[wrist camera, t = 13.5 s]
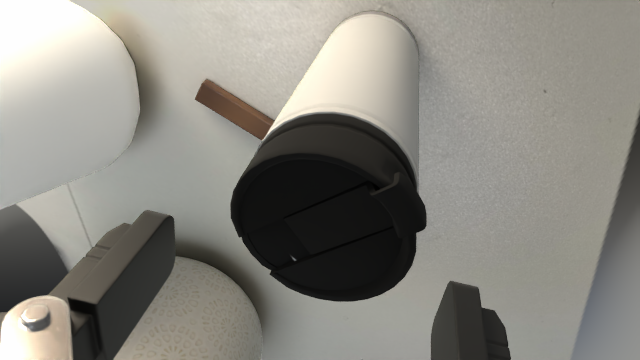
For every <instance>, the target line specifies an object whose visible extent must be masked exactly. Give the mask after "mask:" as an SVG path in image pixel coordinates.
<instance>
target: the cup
mask: <svg viewBox="0 0 640 360" xmlns="http://www.w3.org/2000/svg"><path fill="white" fill-rule="evenodd" d="M139 114H140V103H139V91H138V83H137V77H136V70H135V64H134V62H133V60H132V58H131V57H130V55H129V53H128V51H127V49H126V47H125V45H124V43H123V42H122V40H121V39H120V38H119V37H118V36H117V35H116V34H115V33H114V32H113V31H112V30H111V29H110V28H109V27H108V26H107V25H106V24H105V23H104V22H103V21H102V20H100V19H99V18H97V17H96V16H94V15H93V14H91V13H90V12H88V11H87V10H85V9H84V8H82V7H80V6H78V5H76V4H74V3H72V2H70V1H68V0H0V210H1V209H3V208H5V207H8V206H11V205H13V204H16V203H18V202H21V201H23V200H26V199H28V198H31V197H34V196H36V195H39V194H41V193H44V192H46V191H49V190H51V189H54V188H56V187H59V186H61V185H64V184H66V183H69V182H72V181H74V180H77V179H79V178H82V177H84V176H87V175H89V174H92V173H94V172H97V171H99V170H102V169H104V168H106V167H108V166H109V165H111V164H112V163H113V162H114V161H115V160H116V159H117V158H118V157H119V156H120V155H121V154H122V153H123V152H124V151H125V150H126V149H127V148H128V147H129V145H130V144H131V142H132V140H133V136H134V133H135V129H136V125H137V121H138V118H139Z"/></svg>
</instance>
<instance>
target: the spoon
mask: <svg viewBox="0 0 640 360" xmlns="http://www.w3.org/2000/svg"><path fill="white" fill-rule="evenodd" d="M195 100H197V101H198V102H200V103H202V104H203V105H205V106H207V107H208V108H210V109H212V110H213V111H215V112H216V113H218V114H220V115H221V116H223V117H225V118H226V119H228V120H230V121H231V122H233V123H234V124H236V125H238V126H239V127H241V128H243V129H244V130H246V131H247V132H249V133H251V134H252V135H254V136H256V137H257V138H259V139H261V140H263V139H264V137H265V136H266V135H267V133H268V131H269V130H270V128H271V126H272V125H273V123H274V122H275V121H273V120H272V119H270V118H268V117H267V116H265V115H264V114H262V113H260V112H259V111H257V110H256V109H254V108H252V107H251V106H249V105H248V104H246V103H244V102H243V101H241V100H239V99H238V98H236V97H235V96H233V95H231V94H230V93H228V92H227V91H225V90H223V89H222V88H220V87H219V86H217V85H215V84H214V83H212V82H210V81H209V80H207V79H206V80H205V81H204V82H203V83H202V85H201V87H200V89H199V91H198V93H197V95H196V98H195Z"/></svg>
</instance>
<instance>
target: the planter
mask: <svg viewBox="0 0 640 360" xmlns="http://www.w3.org/2000/svg"><path fill="white" fill-rule="evenodd" d="M261 354H262V330H261V324H260V321H259V317H258V315H257V312H256V310H255V308H254V306H253V304H252V302H251V301H250V299H249V298H248V296H247V295H246V294H245V292H244V291H243V290H242V289H241V288H240V287H239V286H238V285H237V284H236V283H235V282H234V281H233V280H232V279H231V278H229V277H228V276H227V275H225V274H224V273H222V272H221V271H219V270H218V269H216V268H214V267H212V266H210V265H208V264H205V263H203V262H200V261H197V260H193V259H189V258H185V257H177V256H176V257H175V263H174V267H173V270H172V272H171V274H170V276H169V278H168V279H167V280H166V282H165V283H164V285H163V286H162V288H161V289H160V291H159V292H158V294H157V295H156V297H155V298H154V300H153V301H152V303H151V304H150V306H149V307H148V309H147V310H146V312H145V313H144V315H143V316H142V318H141V319H140V321H139V322H138V324H137V325H136V326H135V328H134V329H133V331H132V332H131V334H130V335H129V337H128V338H127V340H126V341H125V343H124V344H123V346H122V347H121V349H120V350H119V352H118V353H117V355H116V356H115V358H114V359H113V360H261Z"/></svg>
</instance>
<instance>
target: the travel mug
mask: <svg viewBox="0 0 640 360" xmlns="http://www.w3.org/2000/svg"><path fill="white" fill-rule="evenodd" d="M418 177H419V50H418V45H417V42H416V40H415V37H414V35H413V34H412V32H411V31H410V29H409V28H408V27H407V26H406V25H405V24H404V23H403V22H402V21H401V20H399V19H397V18H396V17H394V16H392V15H390V14H387V13H384V12H378V11H365V12H361V13H357V14H354V15H352V16H350V17H348V18H346V19H345V20H344V21H343V22H341V23H340V24H339V25H338V26H337V27H336V28H335V30H334V31H333V32H332V34H331V35H330V37H329V38H328V40H327V41H326V43H325V44H324V46H323V48H322V49H321V51H320V52H319V54H318V55H317V57H316V58H315V60H314V61H313V63H312V65H311V66H310V68H309V69H308V71H307V72H306V74H305V75H304V77H303V78H302V80H301V82H300V83H299V85H298V86H297V88H296V89H295V91H294V92H293V94H292V95H291V97H290V99H289V100H288V102H287V103H286V105H285V106H284V108H283V109H282V111H281V112H280V114H279V116H278V117H277V119H276V120H275V122H274V123H273V125H272V126H271V128H270V130H269V131H268V133H267V135H266V136H265V137H264V139H263V140H262V142H261V144H260V146H259V147H258V149H257V151H256V153H255V155H254V157H253V159H252V160H251V162H250V164H249V165H248V167H247V168H246V170H245V171H244V173H243V175H242V176H241V178H240V179H239V181H238V183H237V185H236V187H235V189H234V191H233V195H232V200H231V219H232V222H233V224H234V226H235V229H236V231H237V234H238V236H239V237H242V241H243V243H244V244H245V246H246V247H247V248H248V250H249V251H250V253H251V254H252V255H253V256H254V257H255V258H256V259H257V260H258V261H259V262H260V263H261V264H262V266H264V267H266V268H268V269H270V270H271V272H270V275H271V276H272V277H274V278H275V279H277V280H278V281H279V282H281V283H282V284H284V285H285V286H286V287H288V288H290V289H292V290H294V291H297V292H299V293H301V294H304V295H307V296H311V297H314V298H318V299H323V300H330V301H358V300H365V299H369V298H372V297H375V296H378V295H381V294H383V293H384V292H386V291H388V290H390V289H391V288H393V287H394V286H396V285H397V284H398V283H399V282H400V281H401V280H402V279H403V278H404V277H405V275H406V274H407V272H408V271H409V269H410V268H411V266H412V263H413V260H414V257H415V253H416V233H417V232H420V231H422V230H423V229H425V227H426V209H425V205H424V203H423V201H422V200H421V198H420V196H419V194H418V186H419V180H418Z"/></svg>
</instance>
